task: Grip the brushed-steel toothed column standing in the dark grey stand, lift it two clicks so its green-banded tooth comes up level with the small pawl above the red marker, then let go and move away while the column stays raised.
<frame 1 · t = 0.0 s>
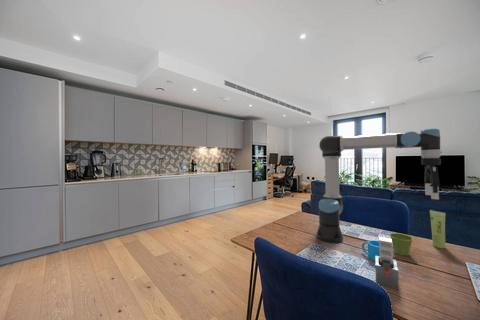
hand: (431, 197, 104), 28 cm above the table, fingers open, 13 cm apart
column: (385, 259, 76), point 9 cm above the table, slide at 0.0 cm
mug: (374, 259, 95), on the table
tube: (438, 246, 106), on the table
stand: (386, 283, 76), on the table
plant pot: (401, 253, 100), on the table
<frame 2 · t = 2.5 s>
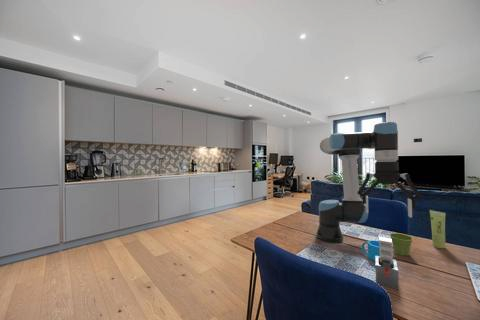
hand: (387, 214, 77), 27 cm above the table, fingers open, 13 cm apart
nothing on the table moved.
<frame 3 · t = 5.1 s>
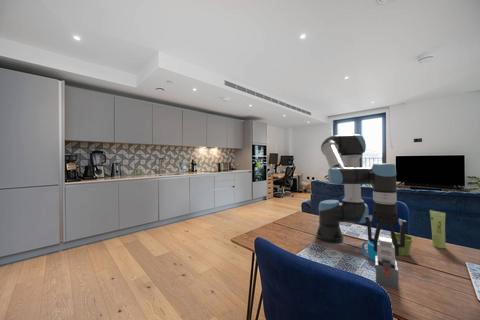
hand: (386, 261, 76), 9 cm above the table, fingers closed on column, 4 cm apart
column: (385, 259, 76), point 9 cm above the table, slide at 0.0 cm, touching gripper
everything else where it was.
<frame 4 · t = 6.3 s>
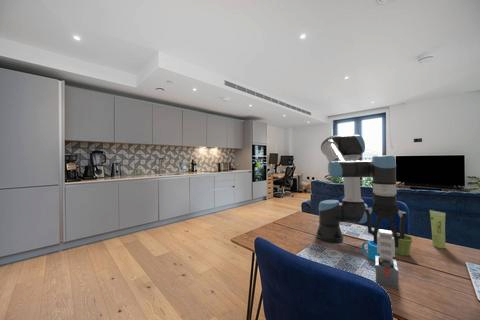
hand: (385, 253, 76), 12 cm above the table, fingers closed on column, 4 cm apart
column: (385, 251, 76), point 12 cm above the table, slide at 3.1 cm, touching gripper
everything else where it was.
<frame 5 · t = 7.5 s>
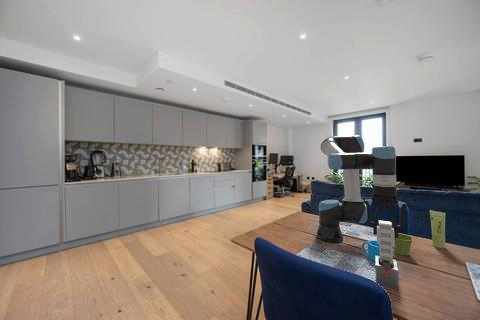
hand: (385, 244, 76), 15 cm above the table, fingers closed on column, 4 cm apart
column: (385, 242, 76), point 16 cm above the table, slide at 6.7 cm, touching gripper
everything else where it was.
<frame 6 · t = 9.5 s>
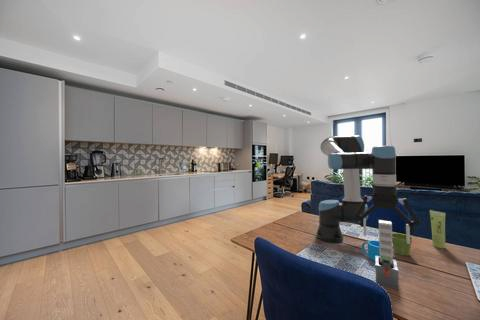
hand: (385, 238, 76), 18 cm above the table, fingers open, 13 cm apart
column: (385, 242, 76), point 16 cm above the table, slide at 6.9 cm
everything else where it was.
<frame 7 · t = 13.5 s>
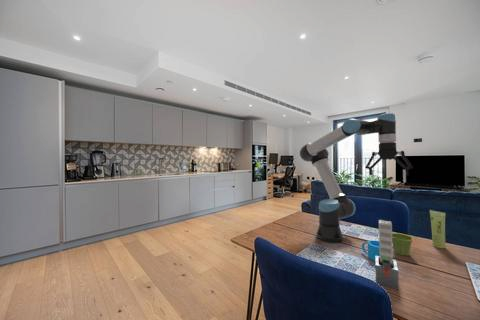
hand: (388, 181, 104), 37 cm above the table, fingers open, 13 cm apart
nothing on the table moved.
at the end: column slide at 6.9 cm; the gripper is holding nothing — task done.
